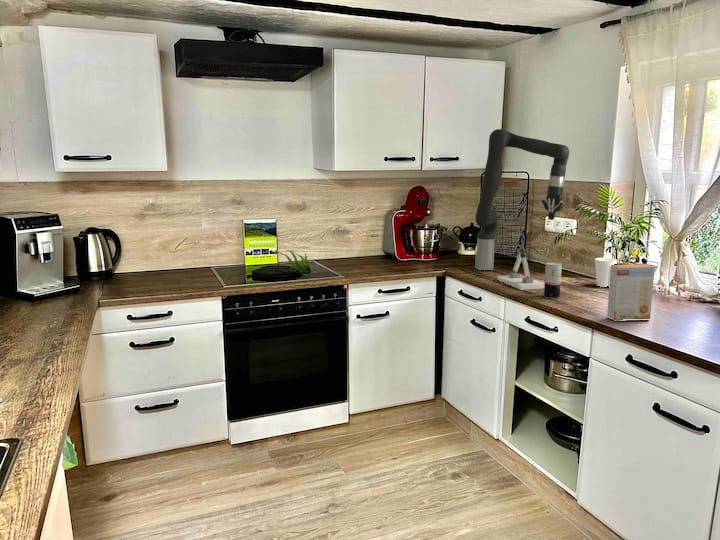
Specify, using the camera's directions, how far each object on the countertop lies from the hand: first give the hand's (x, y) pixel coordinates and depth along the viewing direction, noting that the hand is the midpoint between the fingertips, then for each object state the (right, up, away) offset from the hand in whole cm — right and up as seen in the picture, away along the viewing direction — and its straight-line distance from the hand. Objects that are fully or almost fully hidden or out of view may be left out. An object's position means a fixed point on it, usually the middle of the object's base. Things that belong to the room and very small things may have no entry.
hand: (551, 219), depth 277 cm
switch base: (-19, -32, -12) cm, 40 cm away
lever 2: (-18, -29, -19) cm, 39 cm away
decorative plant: (-136, -28, +20) cm, 140 cm away
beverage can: (-13, -38, -38) cm, 55 cm away
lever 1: (-21, -27, -7) cm, 34 cm away
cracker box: (+4, -45, -72) cm, 84 cm away
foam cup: (+19, -34, -19) cm, 43 cm away
